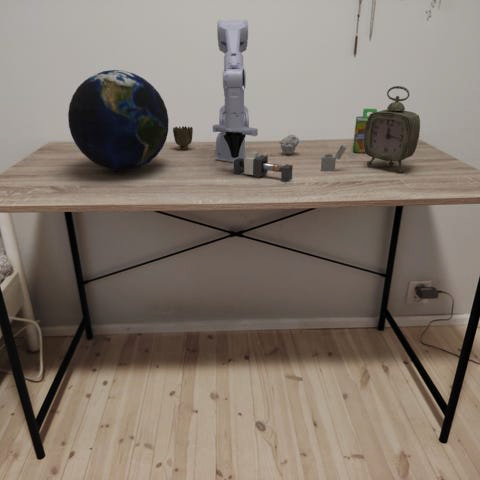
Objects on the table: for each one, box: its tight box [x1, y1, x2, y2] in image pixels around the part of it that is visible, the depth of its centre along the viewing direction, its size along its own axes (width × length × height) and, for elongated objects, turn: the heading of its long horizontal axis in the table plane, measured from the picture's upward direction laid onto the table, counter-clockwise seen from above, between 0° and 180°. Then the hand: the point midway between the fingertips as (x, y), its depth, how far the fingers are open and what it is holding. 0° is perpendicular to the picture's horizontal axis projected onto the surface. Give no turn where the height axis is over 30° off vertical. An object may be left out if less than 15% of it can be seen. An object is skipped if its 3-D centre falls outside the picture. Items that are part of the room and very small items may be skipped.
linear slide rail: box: [233, 158, 294, 183], centre depth 133 cm, size 18×4×4 cm, turn 62°
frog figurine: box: [279, 134, 300, 155], centre depth 156 cm, size 6×7×7 cm
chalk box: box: [352, 108, 378, 154], centre depth 159 cm, size 9×9×15 cm
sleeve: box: [243, 150, 260, 176], centre depth 134 cm, size 3×5×6 cm, turn 151°
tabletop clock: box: [364, 85, 421, 173], centre depth 136 cm, size 14×9×25 cm, turn 47°
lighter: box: [320, 144, 347, 172], centre depth 138 cm, size 7×2×8 cm, turn 89°
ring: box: [253, 154, 269, 178], centre depth 133 cm, size 2×5×5 cm, turn 152°
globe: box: [67, 69, 169, 172], centre depth 136 cm, size 30×30×30 cm
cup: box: [172, 125, 194, 151], centre depth 164 cm, size 8×7×8 cm
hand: (235, 157), depth 136 cm, fingers closed
